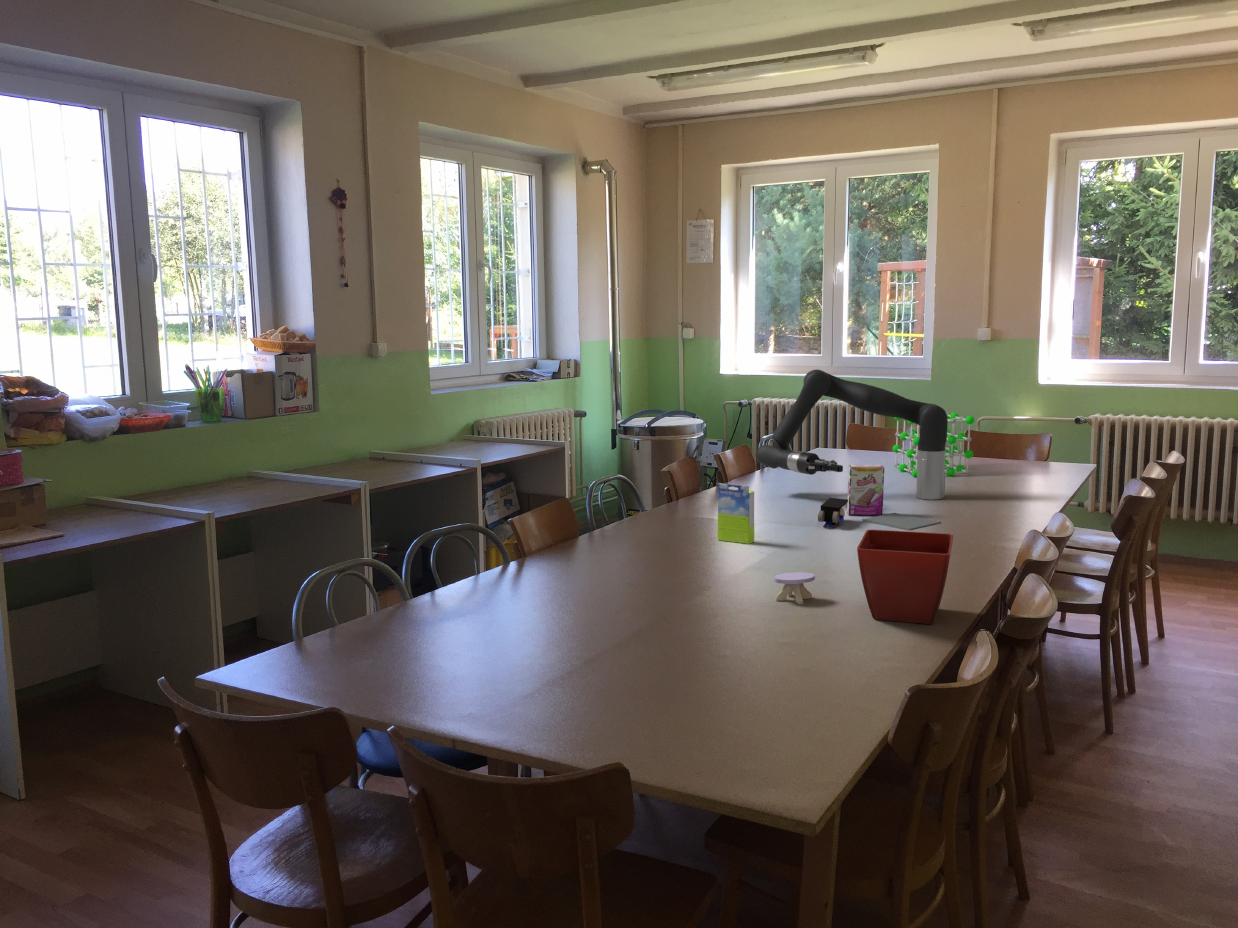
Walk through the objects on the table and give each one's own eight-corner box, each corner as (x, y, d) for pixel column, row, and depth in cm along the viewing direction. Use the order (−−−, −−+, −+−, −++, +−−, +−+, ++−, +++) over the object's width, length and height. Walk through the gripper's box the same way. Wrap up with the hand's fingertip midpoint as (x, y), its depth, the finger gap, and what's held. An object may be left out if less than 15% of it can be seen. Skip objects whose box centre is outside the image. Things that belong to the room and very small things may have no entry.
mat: (894, 513, 321) (894, 512, 321) (940, 522, 307) (940, 521, 307) (862, 520, 312) (862, 519, 312) (908, 530, 298) (908, 528, 298)
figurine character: (838, 534, 300) (849, 519, 313) (838, 510, 298) (849, 496, 311) (816, 532, 303) (828, 517, 316) (816, 509, 301) (827, 495, 314)
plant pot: (854, 622, 212) (856, 547, 209) (865, 598, 229) (867, 528, 227) (947, 631, 205) (950, 554, 202) (950, 605, 223) (953, 533, 220)
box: (755, 541, 286) (755, 483, 284) (749, 544, 283) (749, 486, 280) (722, 537, 292) (722, 481, 289) (716, 540, 288) (716, 483, 286)
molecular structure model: (890, 468, 411) (892, 411, 408) (947, 466, 414) (949, 410, 410) (913, 478, 388) (915, 417, 384) (973, 476, 390) (976, 416, 386)
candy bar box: (848, 516, 319) (849, 466, 317) (846, 512, 324) (847, 464, 322) (883, 516, 318) (884, 466, 316) (880, 513, 323) (882, 464, 320)
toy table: (810, 593, 234) (811, 570, 233) (819, 604, 225) (819, 580, 224) (770, 594, 234) (770, 571, 233) (777, 605, 225) (777, 581, 224)
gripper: (790, 453, 336) (828, 459, 323) (816, 450, 344) (855, 456, 330) (789, 474, 338) (827, 482, 324) (815, 471, 345) (854, 477, 331)
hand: (841, 468), depth 327 cm, fingers closed
